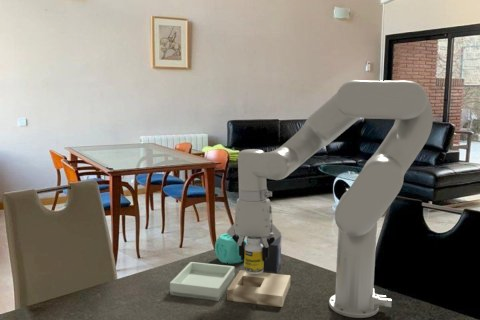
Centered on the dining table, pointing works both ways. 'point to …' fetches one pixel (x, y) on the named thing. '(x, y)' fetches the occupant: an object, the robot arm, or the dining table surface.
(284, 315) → the dining table surface
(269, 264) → the small box
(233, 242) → the decorative dice
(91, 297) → the dining table surface
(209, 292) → the tray
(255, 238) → the supplement bottle
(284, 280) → the beige flat square frame
